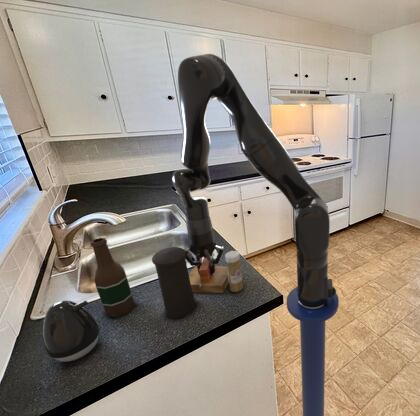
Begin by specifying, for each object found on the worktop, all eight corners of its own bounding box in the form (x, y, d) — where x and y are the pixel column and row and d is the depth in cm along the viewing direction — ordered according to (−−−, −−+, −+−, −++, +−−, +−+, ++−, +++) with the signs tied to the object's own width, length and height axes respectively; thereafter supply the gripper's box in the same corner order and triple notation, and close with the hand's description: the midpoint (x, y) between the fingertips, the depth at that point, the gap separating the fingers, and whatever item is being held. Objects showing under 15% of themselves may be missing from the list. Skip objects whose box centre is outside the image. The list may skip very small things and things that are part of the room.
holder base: (234, 271, 100) (233, 264, 99) (222, 295, 88) (220, 287, 87) (197, 270, 101) (196, 263, 100) (180, 294, 89) (178, 286, 87)
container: (199, 297, 87) (188, 243, 80) (192, 317, 79) (180, 259, 71) (170, 300, 86) (157, 245, 78) (161, 321, 77) (145, 262, 70)
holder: (209, 282, 89) (206, 269, 87) (201, 283, 89) (198, 270, 87) (213, 267, 98) (211, 254, 96) (206, 268, 97) (204, 255, 95)
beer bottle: (130, 315, 80) (107, 244, 71) (100, 320, 78) (73, 248, 69) (139, 298, 87) (119, 232, 78) (112, 302, 85) (88, 235, 76)
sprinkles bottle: (238, 293, 88) (233, 258, 83) (226, 290, 90) (221, 256, 85) (246, 285, 92) (242, 251, 87) (234, 282, 94) (230, 249, 89)
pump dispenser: (96, 361, 66) (76, 312, 60) (43, 375, 62) (17, 325, 57) (110, 330, 74) (93, 285, 69) (64, 341, 71) (43, 294, 66)
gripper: (173, 235, 82) (183, 282, 88) (220, 232, 84) (226, 278, 90) (180, 225, 89) (189, 270, 95) (223, 222, 91) (229, 266, 97)
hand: (207, 273), depth 93 cm, fingers closed on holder, 2 cm apart
